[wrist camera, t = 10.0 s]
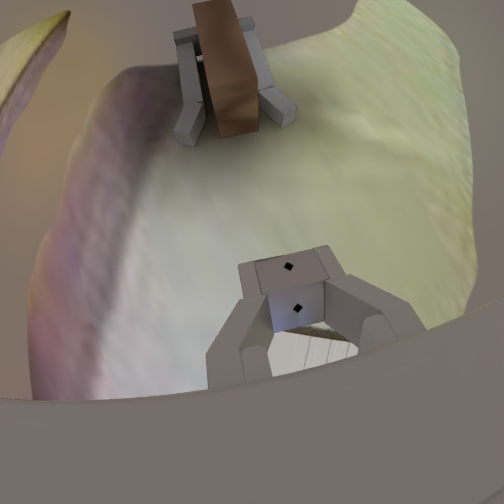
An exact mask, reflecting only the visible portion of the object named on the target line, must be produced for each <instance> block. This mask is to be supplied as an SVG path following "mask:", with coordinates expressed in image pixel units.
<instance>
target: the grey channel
mask: <svg viewBox="0 0 504 504" xmlns="http://www.w3.org/2000/svg"><path fill="white" fill-rule="evenodd" d="M238 21H239V24H240V27H241V30H242V33H243V35H244V38H245V41H246V44H247V47H248V50H249V53H250V56H251V59H252V62H253V65H254V68H255V71H256V74H257V77H258V105H259V108H260V109H261V110H262V111H264V112H265V113H266V114H267V115H268V116H269V117H270V118H271V119H272V120H273V121H274V122H276V123H277V124H278V125H279V126H280V127H281V128H282V129H283V128H284V127H286V126H287V125H288V124H290V123H291V122H293V121H294V120H295V115H296V109H297V105H296V104H294V103H293V102H292V101H291V100H290V99H289V98H288V97H286V96H285V95H284V94H283V93H282V92H281V91H279V90H278V89H277V88H276V86H275V83H274V80H273V78H272V75H271V72H270V69H269V66H268V64H267V61H266V58H265V56H264V53H263V50H262V48H261V45H260V42H259V40H258V37H257V35H256V32H255V24H254V21H253V19H252V17H246V18H239V19H238ZM173 33H174V41H175V44H176V49H177V57H178V65H179V73H180V81H181V89H182V96H183V103H184V107H183V109H182V111H181V114H180V116H179V118H178V120H177V122H176V125H175V127H174V129H173V132H174V134H175V136H176V138H177V140H178V142H179V144H183V145H188V146H193V147H195V145H196V142H197V140H198V137H199V135H200V132H201V130H202V127H203V125H204V122H205V120H206V115H207V112H206V107H205V102H204V96H203V91H202V85H201V80H200V75H199V69H198V64H197V58H196V56H200V55H202V51H201V46H200V41H199V36H198V31H197V26H196V27H192V28H188V29H184V30H179V31H176V32H173Z"/></svg>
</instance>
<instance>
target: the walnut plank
mask: <svg viewBox="0 0 504 504" xmlns="http://www.w3.org/2000/svg"><path fill="white" fill-rule="evenodd" d="M193 11H194V15H195V21H196V26H197V31H198V36H199V41H200V46H201V51H202V56H203V61H204V66H205V71H206V76H207V81H208V86H209V91H210V95H211V99H212V103H213V107H214V112H215V116H216V120H217V124H218V128H219V133H220V137H221V138H225V137H230V136H235V135H240V134H245V133H250V132H255V131H259V128H258V77H257V74H256V71H255V68H254V65H253V62H252V59H251V56H250V53H249V50H248V47H247V44H246V41H245V38H244V35H243V33H242V30H241V27H240V24H239V21H238V19H237V16H236V13H235V10H234V8H233V5H232V3H231V0H212V1H206V2H201V3H196V4H193Z"/></svg>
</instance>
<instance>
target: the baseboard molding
mask: <svg viewBox="0 0 504 504" xmlns="http://www.w3.org/2000/svg"><path fill="white" fill-rule="evenodd" d="M357 353H358V347H356V346H355V345H354V344H352V343H351V342H349V341H343V340H336V339H329V338H323V337H317V336H311V335H305V334H299V333H294V332H288V331H282V332H278V333H274V337H273V340H272V342H271V345H270V347H269V350H268V352H267V354H268V359H269V363H270V367H271V371H272V375H273V377H275V376H279V375H284V374H288V373H292V372H296V371H300V370H304V369H308V368H312V367H316V366H320V365H323V364H327V363H331V362H334V361H338V360H341V359H345V358H348V357H351V356H355V355H357Z"/></svg>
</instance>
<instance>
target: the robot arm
mask: <svg viewBox="0 0 504 504" xmlns="http://www.w3.org/2000/svg"><path fill="white" fill-rule="evenodd" d="M238 270H239V275H240V281H241V286H242V292H243V297H244V299H240V300H239V301H238V303H237V304H236V306H235V308H234V309H233V311H232V312H231V314H230V316H229V317H228V319H227V321H226V322H225V324H224V325H223V327H222V329H221V330H220V332H219V334H218V335H217V337H216V338H215V340H214V342H213V343H212V345H211V346H210V348H209V350H208V351H207V353H206V365H207V380H208V389H205V390H199V391H192V392H184V393H176V394H168V395H159V396H149V397H138V398H124V399H108V400H79V401H48V400H19V399H5V398H0V504H504V296H503V297H501V298H499V299H497V300H495V301H493V302H491V303H489V304H487V305H484V306H482V307H480V308H478V309H476V310H474V311H472V312H469V313H467V314H465V315H462V316H460V317H458V318H456V319H453V320H451V321H449V322H446V323H444V324H441V325H439V326H436V327H434V328H431V329H429V330H426V328H425V327H424V325H423V324H422V322H421V320H420V319H419V317H418V316H417V314H416V313H415V311H414V310H413V308H412V306H411V305H410V303H408V302H406V301H404V300H402V299H400V298H398V297H396V296H394V295H392V294H390V293H388V292H386V291H384V290H382V289H380V288H378V287H376V286H374V285H372V284H370V283H367V282H365V281H363V280H361V279H359V278H357V277H355V276H353V275H351V274H349V275H346V274H345V272H344V270H343V269H342V267H341V265H340V264H339V262H338V260H337V259H336V257H335V255H334V254H333V252H332V250H331V249H330V247H329V246H328V245H323V246H319V247H315V248H312V249H309V250H304V251H300V252H295V253H291V254H286V255H281V256H276V257H271V258H265V259H260V260H255V261H254V262H253V261H251V262H246V263H241V264H238ZM323 321H324V322H325V323H326V324H327V325H329V326H330V327H331V328H332V329H334V330H335V331H336V332H338V333H339V334H340V335H342V336H343V337H344V338H346V339H347V340H348V341H350V342H351V343H352V344H354V345H355V346H356V347H358V353H357V355H355V356H351V357H348V358H345V359H341V360H338V361H334V362H331V363H327V364H323V365H320V366H316V367H312V368H308V369H304V370H300V371H296V372H292V373H288V374H284V375H279V376H275V377H273V375H272V371H271V367H270V363H269V359H268V354H267V352H268V350H269V347H270V345H271V342H272V340H273V337H274V333H278V332H282V331H286V330H289V329H293V328H297V327H301V326H306V325H310V324H315V323H319V322H323Z"/></svg>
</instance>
